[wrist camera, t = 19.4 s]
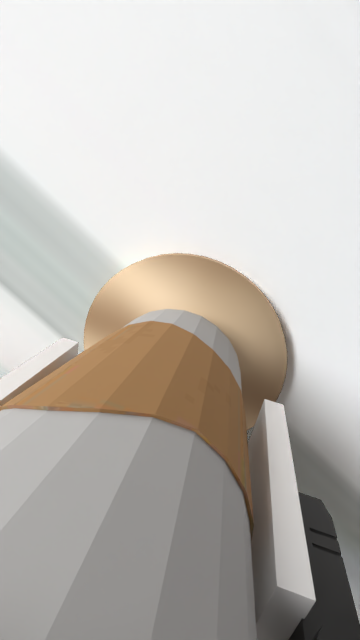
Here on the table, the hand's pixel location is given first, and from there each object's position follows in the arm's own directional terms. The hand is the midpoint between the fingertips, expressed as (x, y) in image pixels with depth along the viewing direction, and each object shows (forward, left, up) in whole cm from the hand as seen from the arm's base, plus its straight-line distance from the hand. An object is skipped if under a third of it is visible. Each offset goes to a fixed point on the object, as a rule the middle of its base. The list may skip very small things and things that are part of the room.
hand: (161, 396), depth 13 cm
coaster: (0, 0, -4) cm, 4 cm away
